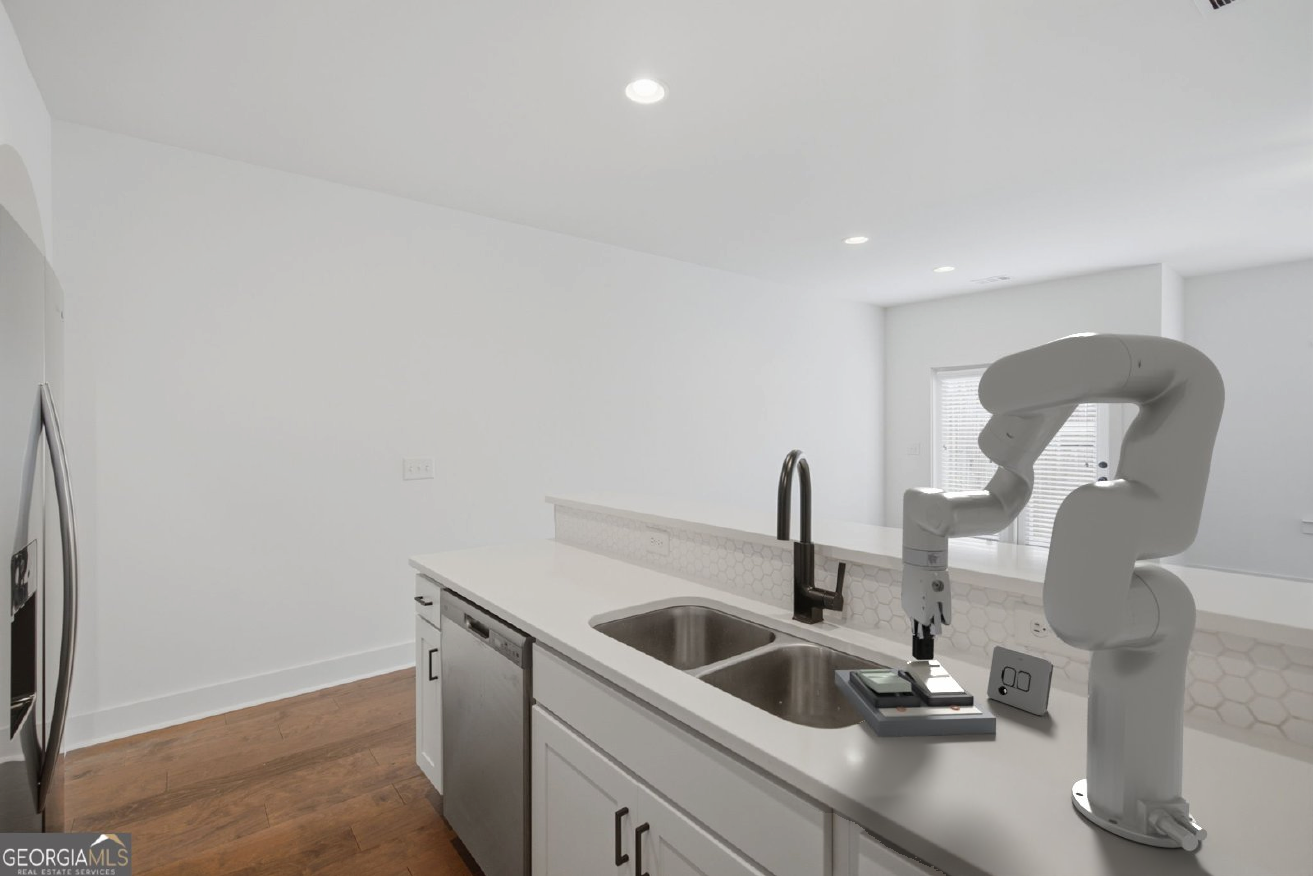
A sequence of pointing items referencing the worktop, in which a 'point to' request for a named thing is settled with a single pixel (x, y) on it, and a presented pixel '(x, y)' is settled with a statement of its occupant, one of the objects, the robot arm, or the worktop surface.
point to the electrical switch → (1020, 680)
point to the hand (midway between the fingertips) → (922, 658)
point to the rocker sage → (884, 681)
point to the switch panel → (914, 709)
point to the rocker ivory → (933, 678)
